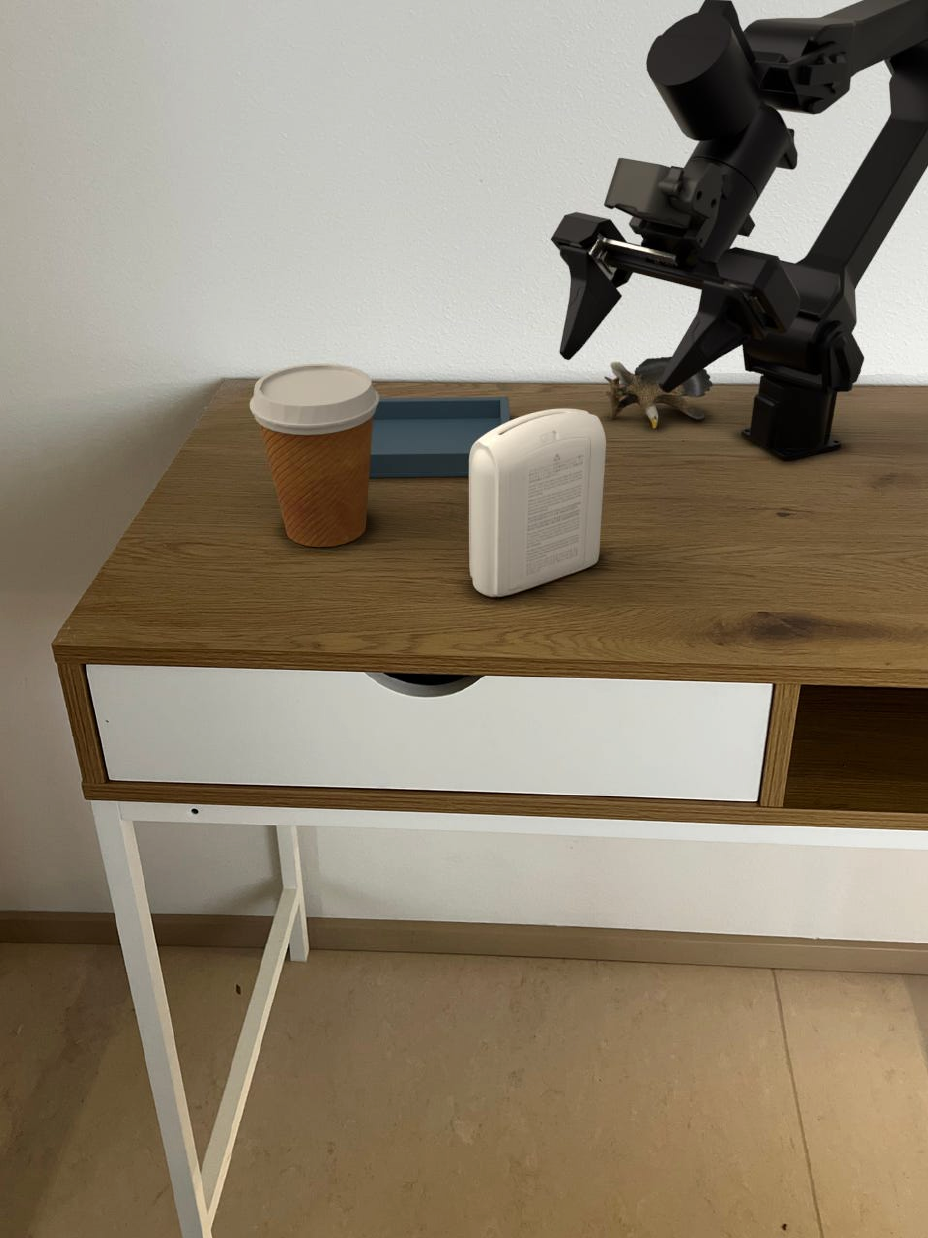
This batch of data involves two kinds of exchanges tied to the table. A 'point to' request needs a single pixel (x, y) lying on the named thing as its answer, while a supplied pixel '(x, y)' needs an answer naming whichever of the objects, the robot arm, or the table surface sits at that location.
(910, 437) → the table surface
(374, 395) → the disposable coffee cup
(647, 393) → the eagle figurine
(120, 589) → the table surface
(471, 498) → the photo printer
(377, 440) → the tray
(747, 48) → the robot arm
